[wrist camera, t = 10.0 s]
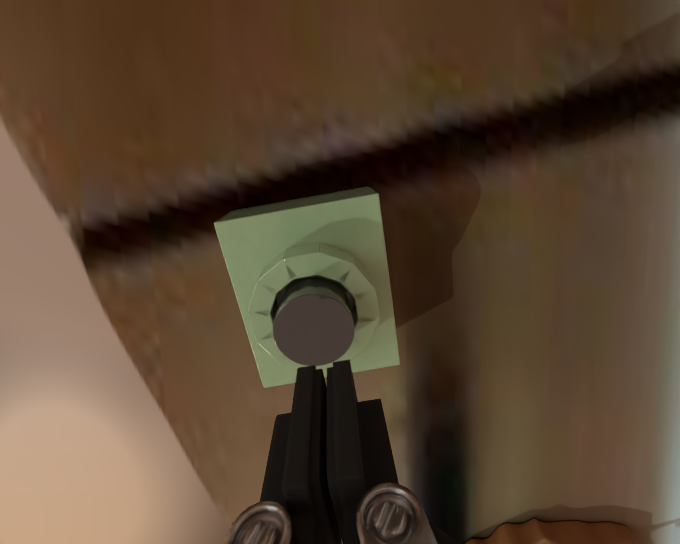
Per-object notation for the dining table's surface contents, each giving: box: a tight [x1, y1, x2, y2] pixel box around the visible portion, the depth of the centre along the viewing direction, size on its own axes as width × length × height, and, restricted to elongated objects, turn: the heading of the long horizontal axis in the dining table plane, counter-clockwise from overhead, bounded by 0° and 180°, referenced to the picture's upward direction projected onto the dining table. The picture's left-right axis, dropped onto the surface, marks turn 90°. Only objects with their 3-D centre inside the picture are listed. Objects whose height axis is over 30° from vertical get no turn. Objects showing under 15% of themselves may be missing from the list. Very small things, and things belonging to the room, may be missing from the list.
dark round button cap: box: [273, 279, 355, 366], centre depth 17 cm, size 4×4×2 cm
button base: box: [214, 187, 400, 388], centre depth 20 cm, size 11×9×6 cm
